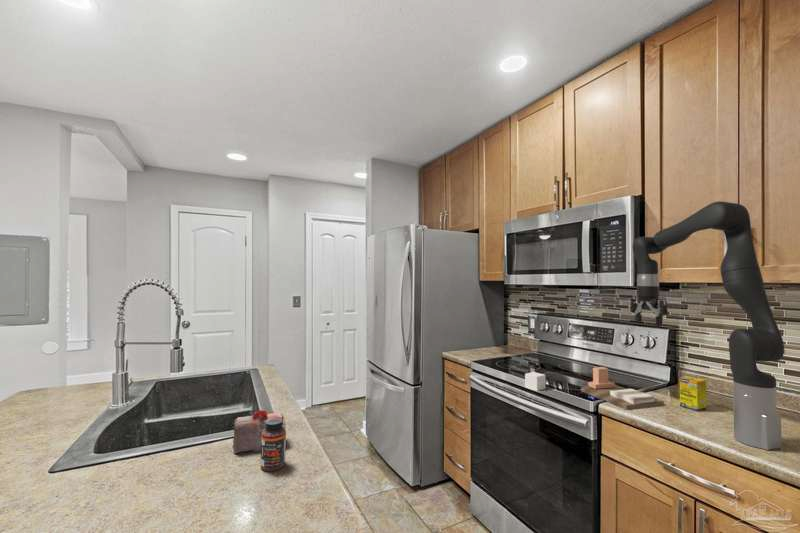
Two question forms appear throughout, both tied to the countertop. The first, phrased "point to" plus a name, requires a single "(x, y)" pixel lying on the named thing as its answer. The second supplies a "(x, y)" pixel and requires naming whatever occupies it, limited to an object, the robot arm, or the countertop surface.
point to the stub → (600, 378)
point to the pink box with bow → (252, 430)
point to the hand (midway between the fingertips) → (648, 324)
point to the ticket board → (616, 400)
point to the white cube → (535, 381)
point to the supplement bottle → (273, 445)
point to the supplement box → (693, 393)
